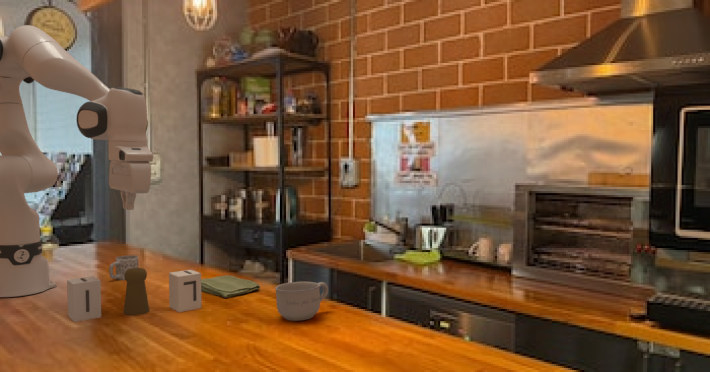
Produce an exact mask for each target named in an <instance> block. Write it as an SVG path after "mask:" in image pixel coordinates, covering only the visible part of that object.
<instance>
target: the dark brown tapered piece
mask: <svg viewBox="0 0 710 372" xmlns="http://www.w3.org/2000/svg"><path fill="white" fill-rule="evenodd" d="M147 276H148V272H147V270H146V269H145V268H143V267H138V268H131V269H128V270H126V272H125V275H124V278H125V280H124V281H126V289H125V297H124V306H123V315H125V314H126V315H125V316H140V314H141V315H145V314H148V313H149V312H150V306H149V300H148V293H147V287H146V286H147V285H146V279H147ZM147 312H148V313H147Z"/></svg>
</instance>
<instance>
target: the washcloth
mask: <svg viewBox="0 0 710 372" xmlns="http://www.w3.org/2000/svg"><path fill="white" fill-rule="evenodd" d="M260 289H261V286H260V284H259V283H258V282H255V281H253V280H250V279H245V278H239V277H237V276H233V275H221V276H220V275H219V276H215V277H212V278H211V277H210V278H207V277H206V278H201V293H206V294H211V295H214V296H219V297H222V298H226V299H228V298H233V297H236V296H240V295H243V294H247V293H251V292H256V291H259V290H260Z"/></svg>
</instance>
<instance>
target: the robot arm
mask: <svg viewBox="0 0 710 372" xmlns="http://www.w3.org/2000/svg"><path fill="white" fill-rule="evenodd" d="M34 81H35V82H36V83H38V84H40V85H41V86H42V87H44V88H46V89H49V90H52V91H56V92H57V91H58V92H62V93H66V94H67V93H68V94H71V95H75V96H78V97H81V98H84V99H86V100H87V101H86V102H84V103H83V104H82V105H81V106H80V107H79V109H78V111H77V113H76V119H75V120H76V126H77V129H78V131H79V132H80V133H81V135H82V136H84V137H85V138H87V139H91V140H100V141H108V161H110V162H109V171H108V172H109V173H108V185H109V189H113V190H116V191H120V197H121V201H122V209H124V210H127V211H132V210H133V211H134V209H135V201H136V198H137V194H148V193H149V192H150V189H151V181H152V180H151V179H152V165H151V162H153V160H154V154H153V152H152V151H151V150H150V149H149V147H148V139H147V135H146V132H147V130H148V126H149V123H148V122H149V121H148V110H147V100H146V97H145V95H144V93H143V92H141V91H140V90H138V89H134V88H128V87H125V86H114V87H111V86H110V85H108V84H107V83H106V82H104V80H102V78H100V77H98V76H97V75H96V74H94V73H93V72H91V71H90V70H89V69H88V68H86V67H85V66H84V65H83V64H82V63H80V61H78V60H77V59H76V58H74V57H73V56H72V55H71V54H70V53H69V52H68V51H67V50H66V49H65V48H63V46H62V45H61V44H60V43H59V42H58V41H57V40H55V39H54V38H53V37H52V36H51V35H49V34H48V33H46V32H45V31H44V30H42V29H41V28H39V27H37V26H35V25H28V24H27V25H25V24H24V25H21V26H17V27H16V28H14V30H12V31H11V33H10V34H9V35H6V36H5V35H0V154H1V155H0V298H14V297H22V296H29V295H34V294H39V293H42V292H45V291H47V290H49V289H52V288H56V287H57V282H55V281H51V279H50V277H51V275H50V265H49V260H48V259H47V258H46V257H44V255H43V254H42V253H43V244H42V243H43V242H42V240H41V231H40V228H41V227H40V224H41V223H40V215H39V213H38V212H37V211H36V210H35V209H33V208H31V206H29V204H28V201H27V199H26V196H25V194H29V193H31V194H32V193H40V192H42V191H46V190H47V189H50V188H51V187H53V186H54V185H55V184H56V182H57V180H58V174H59V173H58V167H57V166H56V164H55V163H54V162H53V160H51V159H50V158H48V157H47V156H46V155H45V154H44V153H43V151H41V149H40V148H39V146H38V144H37V143H36V142H35V139H34V138H33V135H32V134H31V131H30V128H29V125H28V121H27V117H26V114H25V108H24V105H23V101H22V96H21V93H20V85H21V84H22V82H24V83H26V84H28V85H29V84H32V83H34Z"/></svg>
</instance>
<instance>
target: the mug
mask: <svg viewBox="0 0 710 372" xmlns="http://www.w3.org/2000/svg"><path fill="white" fill-rule="evenodd" d="M114 267H115V274H114ZM131 268H139V255H132V254H131V255H130V254H129V255H121V256H117V257H115V261H114V262H112V263H111V264H110V265H109V267H108V272H109V273H108V274H109V277H110V279H115V280H118V281H126V280H125V278H124V275H125V272H126V270H128V269H131Z"/></svg>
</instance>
